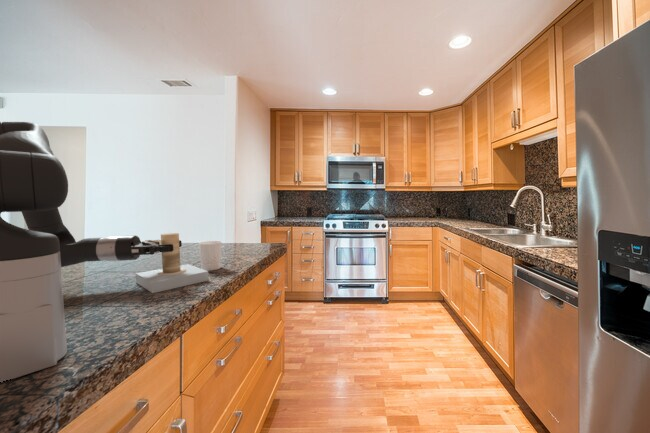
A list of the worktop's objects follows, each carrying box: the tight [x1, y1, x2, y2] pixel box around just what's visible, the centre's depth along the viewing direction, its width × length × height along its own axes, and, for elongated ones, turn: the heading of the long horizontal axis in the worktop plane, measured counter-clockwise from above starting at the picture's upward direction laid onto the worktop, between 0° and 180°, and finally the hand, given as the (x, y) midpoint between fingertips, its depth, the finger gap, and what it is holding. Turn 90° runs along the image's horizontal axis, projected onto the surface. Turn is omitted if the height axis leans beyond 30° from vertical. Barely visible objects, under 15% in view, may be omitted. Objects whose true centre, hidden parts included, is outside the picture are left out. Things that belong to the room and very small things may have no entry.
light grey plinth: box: [135, 263, 210, 294], centre depth 88 cm, size 16×16×3 cm
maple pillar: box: [160, 232, 181, 273], centre depth 87 cm, size 5×5×12 cm
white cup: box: [198, 240, 222, 272], centre depth 104 cm, size 8×8×10 cm
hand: (177, 245), depth 88 cm, fingers open, 8 cm apart
